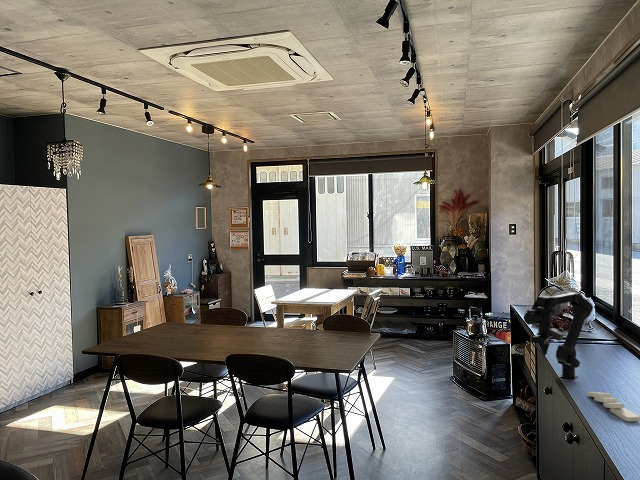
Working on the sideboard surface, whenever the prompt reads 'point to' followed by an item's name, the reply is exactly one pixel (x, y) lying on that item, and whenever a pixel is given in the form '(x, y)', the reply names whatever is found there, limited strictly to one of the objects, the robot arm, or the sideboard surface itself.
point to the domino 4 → (618, 416)
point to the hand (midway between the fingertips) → (544, 354)
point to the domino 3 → (613, 405)
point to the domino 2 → (605, 400)
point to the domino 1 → (599, 394)
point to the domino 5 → (625, 414)
